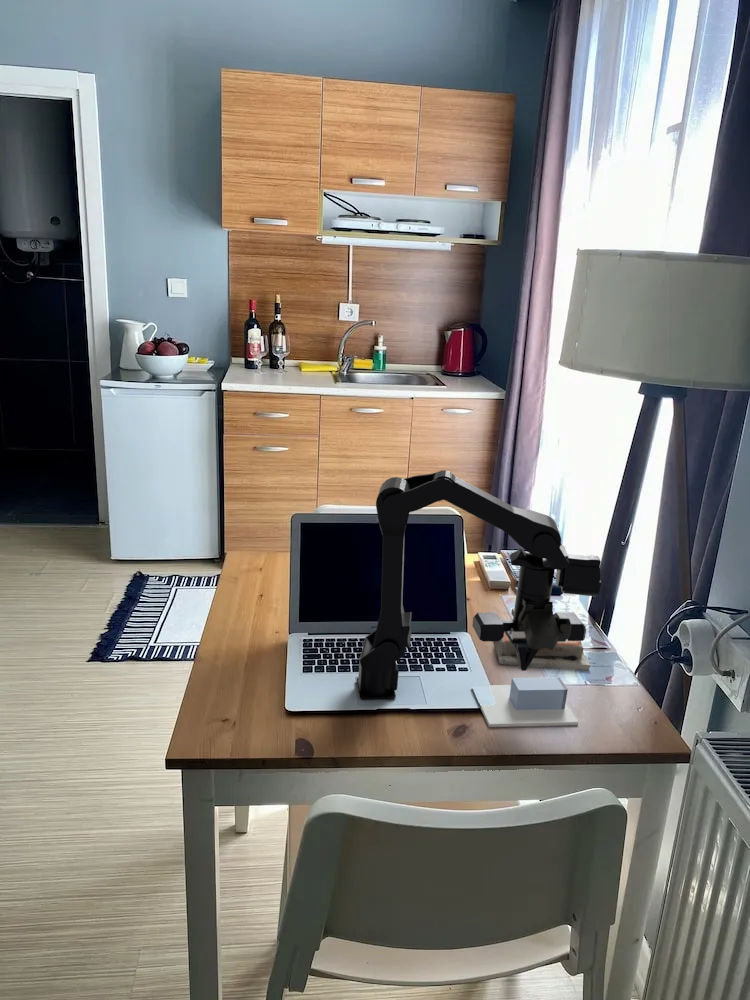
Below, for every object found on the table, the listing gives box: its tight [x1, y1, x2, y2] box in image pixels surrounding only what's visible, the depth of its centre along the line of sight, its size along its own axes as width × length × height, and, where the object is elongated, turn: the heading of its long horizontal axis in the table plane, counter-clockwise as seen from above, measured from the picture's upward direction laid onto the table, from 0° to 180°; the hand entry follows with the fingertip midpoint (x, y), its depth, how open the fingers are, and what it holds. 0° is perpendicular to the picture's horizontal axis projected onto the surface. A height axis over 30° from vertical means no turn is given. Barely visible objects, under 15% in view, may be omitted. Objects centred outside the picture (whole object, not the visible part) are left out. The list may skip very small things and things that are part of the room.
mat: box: [480, 684, 579, 728], centre depth 137 cm, size 16×12×1 cm
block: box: [509, 676, 569, 710], centre depth 137 cm, size 4×4×9 cm
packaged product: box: [493, 632, 591, 671], centre depth 155 cm, size 18×5×10 cm
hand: (522, 669), depth 135 cm, fingers closed
